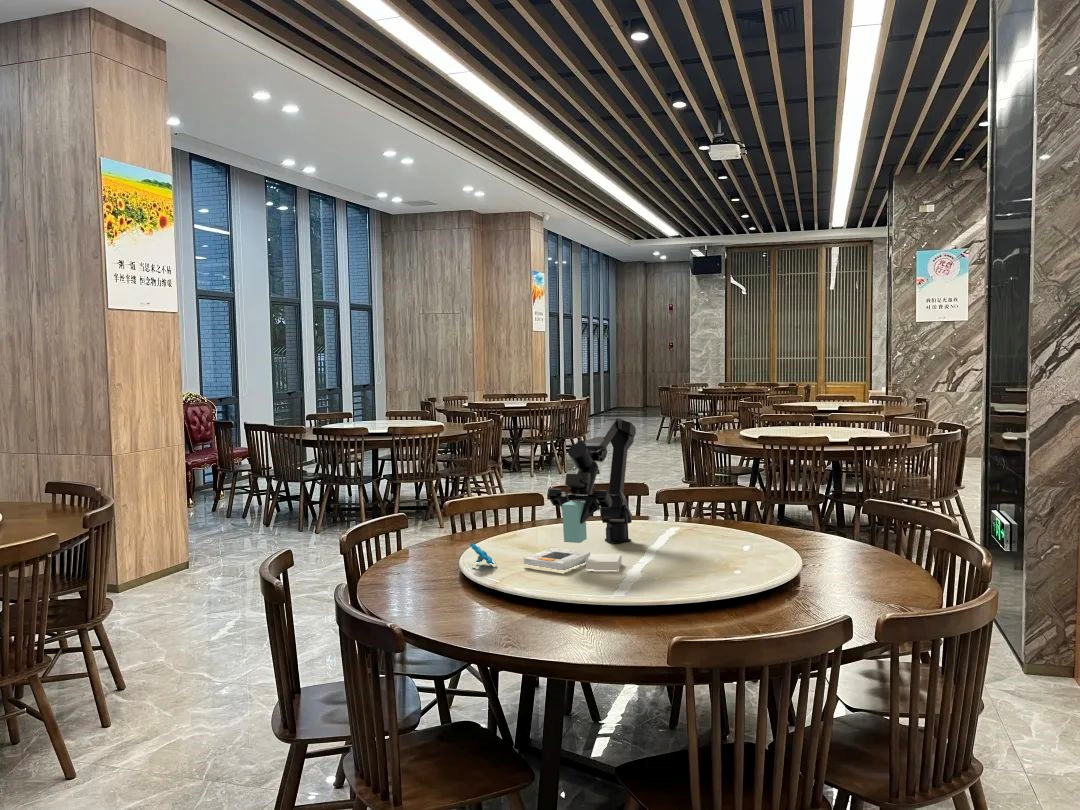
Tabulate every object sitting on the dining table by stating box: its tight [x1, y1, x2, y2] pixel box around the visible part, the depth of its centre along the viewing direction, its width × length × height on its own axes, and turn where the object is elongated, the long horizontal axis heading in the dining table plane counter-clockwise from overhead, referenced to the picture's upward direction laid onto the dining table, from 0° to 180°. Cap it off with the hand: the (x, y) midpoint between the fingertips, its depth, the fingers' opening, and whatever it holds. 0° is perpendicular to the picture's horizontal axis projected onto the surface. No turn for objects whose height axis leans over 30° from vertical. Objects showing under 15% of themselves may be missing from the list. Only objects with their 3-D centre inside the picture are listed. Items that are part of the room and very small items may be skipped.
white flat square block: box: [585, 553, 623, 572], centre depth 254 cm, size 9×9×3 cm
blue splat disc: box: [469, 542, 494, 565], centre depth 262 cm, size 11×6×10 cm
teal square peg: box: [561, 501, 588, 544], centre depth 256 cm, size 5×5×11 cm
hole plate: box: [523, 547, 591, 570], centre depth 260 cm, size 14×14×3 cm
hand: (572, 522), depth 255 cm, fingers closed on teal square peg, 5 cm apart
